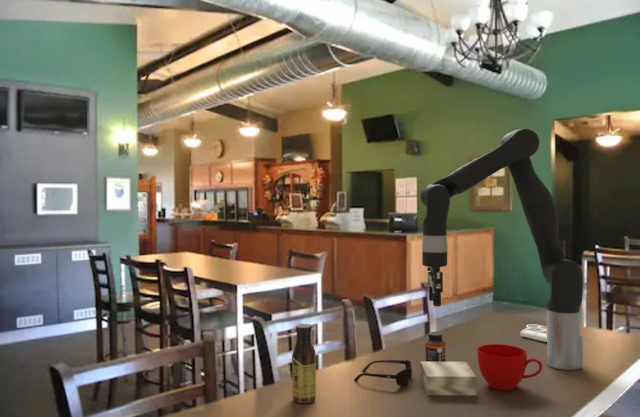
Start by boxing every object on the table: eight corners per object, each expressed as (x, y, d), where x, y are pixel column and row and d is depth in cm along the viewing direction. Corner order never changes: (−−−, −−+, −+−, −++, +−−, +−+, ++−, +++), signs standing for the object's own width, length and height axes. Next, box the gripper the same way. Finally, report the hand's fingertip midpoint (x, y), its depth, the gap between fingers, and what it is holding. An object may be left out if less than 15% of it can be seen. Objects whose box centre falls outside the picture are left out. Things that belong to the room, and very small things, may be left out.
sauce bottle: (292, 396, 140) (290, 322, 140) (315, 395, 140) (314, 321, 140) (292, 405, 133) (291, 328, 133) (317, 404, 134) (316, 327, 134)
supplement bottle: (446, 374, 156) (445, 336, 156) (425, 373, 157) (425, 335, 157) (445, 367, 162) (444, 331, 162) (425, 366, 163) (425, 330, 163)
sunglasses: (406, 391, 143) (405, 373, 143) (351, 385, 149) (350, 367, 149) (414, 375, 156) (414, 358, 156) (363, 370, 162) (363, 354, 162)
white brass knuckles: (513, 336, 199) (537, 331, 207) (556, 347, 184) (580, 340, 192) (513, 327, 199) (537, 322, 207) (556, 337, 184) (580, 331, 192)
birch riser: (466, 378, 151) (465, 361, 151) (476, 395, 138) (476, 376, 138) (420, 378, 152) (420, 361, 152) (427, 395, 139) (426, 376, 139)
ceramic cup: (538, 401, 134) (537, 362, 134) (472, 389, 143) (471, 353, 143) (546, 385, 145) (545, 349, 145) (484, 375, 154) (484, 341, 154)
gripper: (451, 252, 152) (451, 308, 152) (443, 248, 166) (443, 299, 166) (425, 252, 152) (425, 307, 152) (419, 248, 166) (419, 298, 167)
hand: (434, 303), depth 159 cm, fingers open, 8 cm apart
